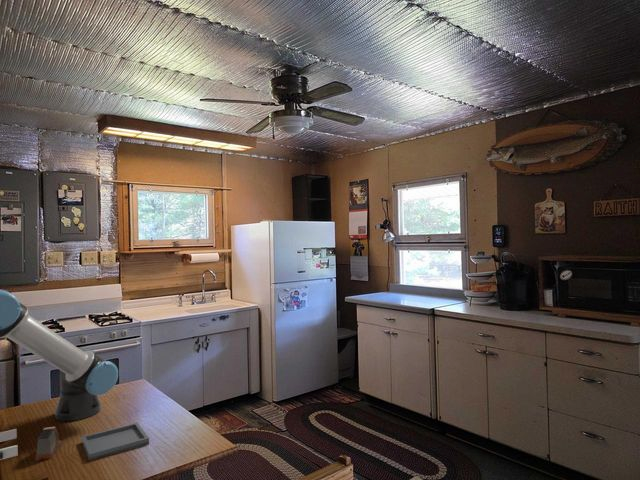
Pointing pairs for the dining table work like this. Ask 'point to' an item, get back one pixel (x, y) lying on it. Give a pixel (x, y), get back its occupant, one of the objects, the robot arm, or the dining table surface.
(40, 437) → the electronic device
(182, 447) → the dining table surface
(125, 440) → the dock tray
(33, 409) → the dining table surface
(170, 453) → the dining table surface
